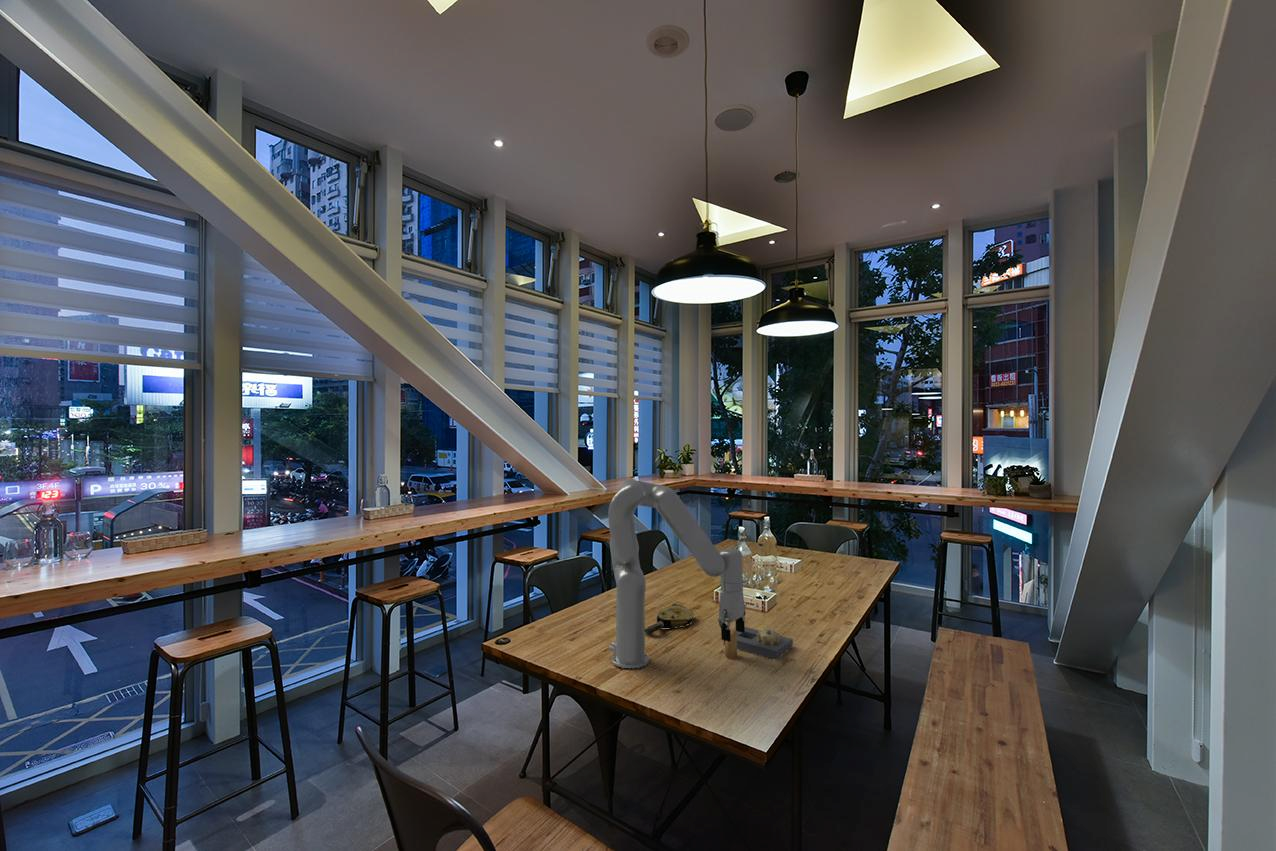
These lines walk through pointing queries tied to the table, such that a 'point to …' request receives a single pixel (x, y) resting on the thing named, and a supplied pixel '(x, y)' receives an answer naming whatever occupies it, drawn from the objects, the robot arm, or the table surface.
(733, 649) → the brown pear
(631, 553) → the robot arm
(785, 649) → the housing
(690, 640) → the table surface
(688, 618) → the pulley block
